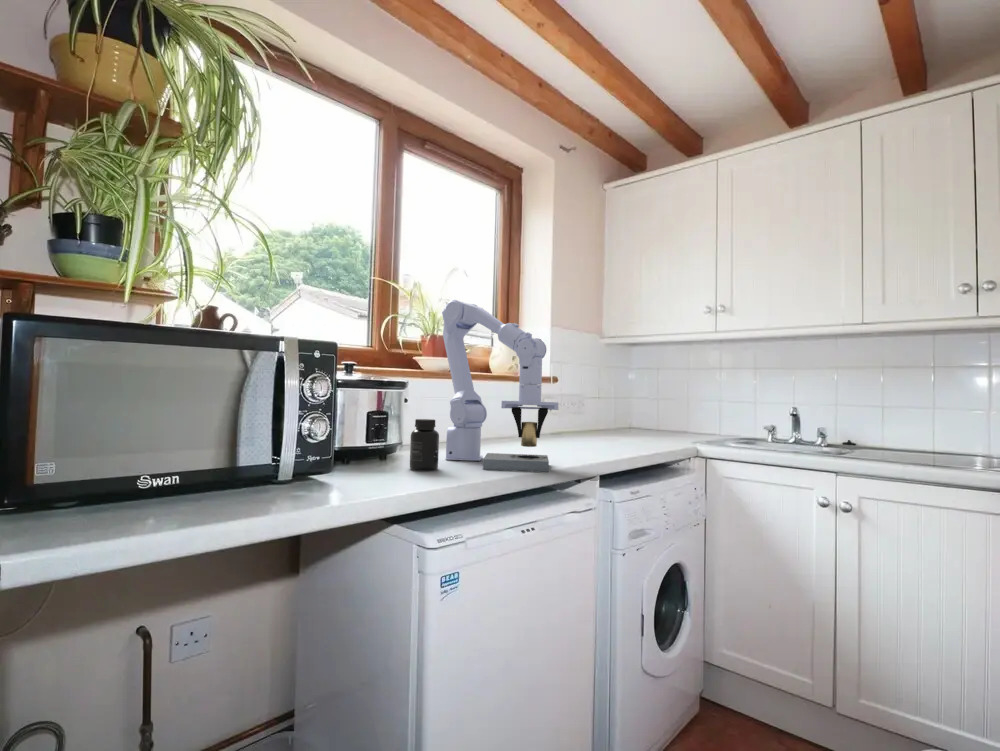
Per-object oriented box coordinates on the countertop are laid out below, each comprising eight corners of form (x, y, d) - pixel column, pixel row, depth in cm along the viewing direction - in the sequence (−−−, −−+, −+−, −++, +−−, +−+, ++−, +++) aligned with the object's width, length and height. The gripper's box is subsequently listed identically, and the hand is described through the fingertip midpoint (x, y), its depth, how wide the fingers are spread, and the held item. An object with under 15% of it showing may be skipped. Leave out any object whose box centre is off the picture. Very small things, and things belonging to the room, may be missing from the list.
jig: (482, 469, 128) (483, 459, 128) (487, 462, 140) (487, 453, 140) (548, 471, 127) (548, 461, 127) (547, 464, 139) (547, 455, 139)
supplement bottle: (442, 470, 125) (444, 420, 125) (415, 472, 121) (417, 420, 121) (431, 466, 131) (433, 418, 131) (405, 467, 127) (407, 418, 127)
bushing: (520, 446, 132) (520, 422, 133) (522, 444, 136) (522, 421, 136) (535, 447, 132) (536, 423, 132) (537, 445, 136) (538, 422, 136)
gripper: (501, 383, 131) (499, 437, 131) (559, 385, 130) (558, 439, 130) (502, 383, 138) (501, 435, 138) (558, 385, 137) (556, 437, 137)
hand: (529, 437), depth 134 cm, fingers closed on bushing, 4 cm apart
